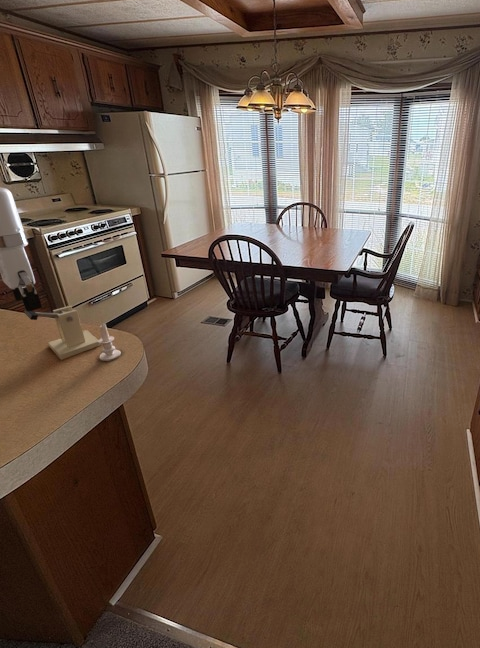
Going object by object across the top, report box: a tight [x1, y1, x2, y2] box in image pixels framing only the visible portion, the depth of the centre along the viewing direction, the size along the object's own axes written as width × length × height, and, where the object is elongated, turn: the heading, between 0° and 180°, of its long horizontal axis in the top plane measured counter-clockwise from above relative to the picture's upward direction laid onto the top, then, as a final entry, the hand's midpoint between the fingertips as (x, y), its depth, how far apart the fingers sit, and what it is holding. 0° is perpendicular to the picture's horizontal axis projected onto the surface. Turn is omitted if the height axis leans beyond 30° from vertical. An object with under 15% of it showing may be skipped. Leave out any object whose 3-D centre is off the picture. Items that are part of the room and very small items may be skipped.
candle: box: [98, 323, 122, 362], centre depth 95 cm, size 5×5×10 cm
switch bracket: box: [47, 305, 101, 360], centre depth 99 cm, size 10×10×12 cm
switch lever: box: [23, 308, 69, 321], centre depth 94 cm, size 10×6×2 cm, turn 142°
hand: (28, 304), depth 89 cm, fingers open, 9 cm apart
